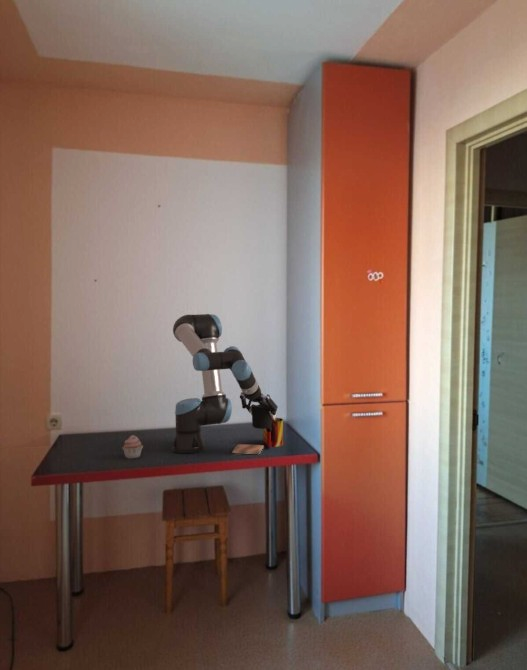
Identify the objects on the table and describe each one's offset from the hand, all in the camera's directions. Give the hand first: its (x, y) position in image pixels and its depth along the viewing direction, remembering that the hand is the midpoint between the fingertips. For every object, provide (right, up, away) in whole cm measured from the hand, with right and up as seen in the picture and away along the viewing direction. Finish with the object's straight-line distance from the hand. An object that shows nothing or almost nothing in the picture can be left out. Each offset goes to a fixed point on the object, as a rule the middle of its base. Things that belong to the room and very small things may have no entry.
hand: (264, 416), depth 233 cm
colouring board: (-8, -16, 0) cm, 18 cm away
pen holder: (-1, -4, -3) cm, 5 cm away
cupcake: (-59, -17, -8) cm, 62 cm away
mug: (+5, -15, +9) cm, 19 cm away
